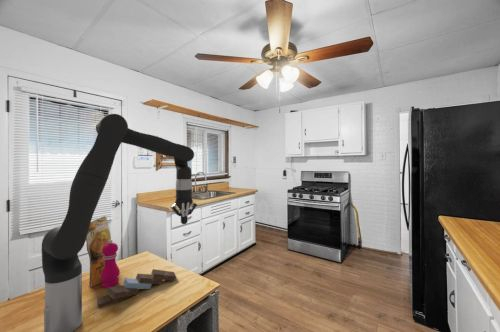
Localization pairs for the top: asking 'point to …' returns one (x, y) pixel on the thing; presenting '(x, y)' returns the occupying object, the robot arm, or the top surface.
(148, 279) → the domino
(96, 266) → the pancake mix bag
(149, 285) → the domino
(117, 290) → the domino
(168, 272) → the domino
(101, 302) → the domino
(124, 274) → the top surface
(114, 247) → the pepper mill
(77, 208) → the robot arm
